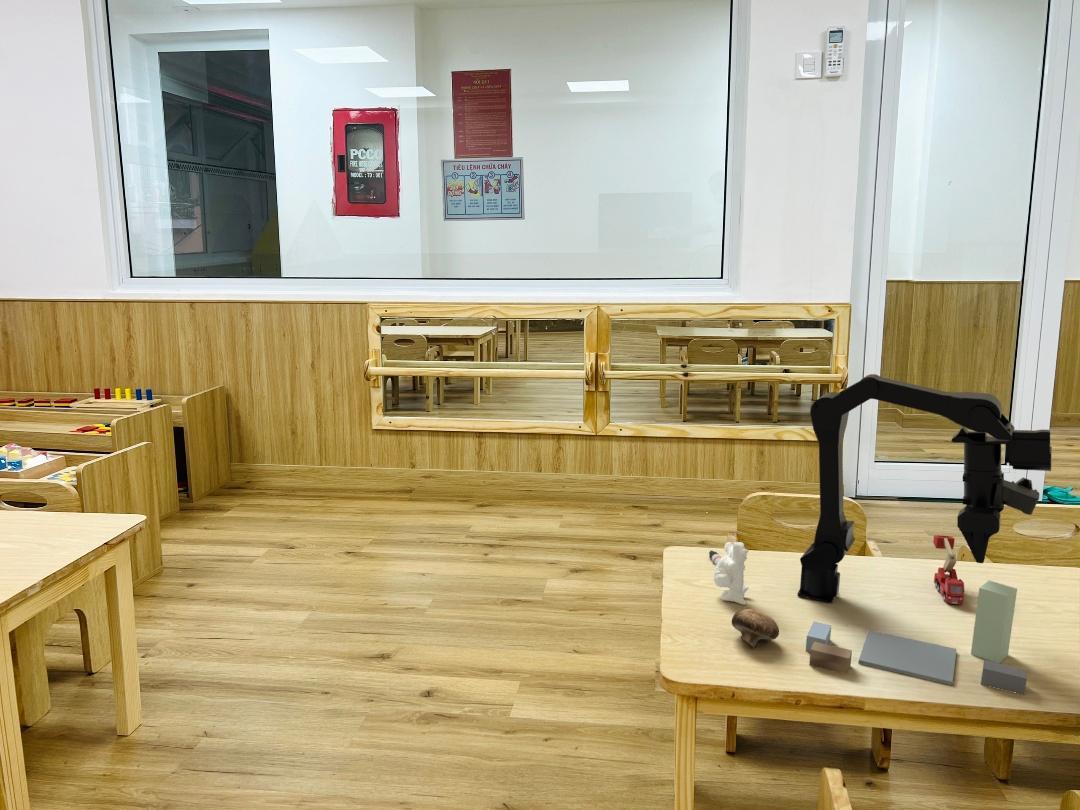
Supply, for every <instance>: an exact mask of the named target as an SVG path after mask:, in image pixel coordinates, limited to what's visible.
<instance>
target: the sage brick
mask: <svg viewBox="0 0 1080 810" xmlns="http://www.w3.org/2000/svg"><path fill="white" fill-rule="evenodd" d="M1017 592H1018V588H1017V587H1013V586H1011V585H1007V584H1004V583H999V582H996V581H993V580H988V581H987V580H986V582H985V583H984V584H982V585H981V586H979V590H978V595H977V602H976V603H977V604H976V609H975V610H976V611H975V618H974V619H975V620H974V624H973V625H974V627H973V635H972V641H971V648H970V649H971V651H970V654H971V655H973V656H975V657H978V658H980V659H984V660H986V661H991V662H995V663H999V664H1001V662H1002V661H1003V660H1004V659H1006V657H1007V656H1008V655H1009V650H1010V643H1011V636H1012V628H1013V621H1014V614H1015V606H1016V600H1017Z"/></svg>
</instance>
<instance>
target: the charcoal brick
mask: <svg viewBox="0 0 1080 810" xmlns="http://www.w3.org/2000/svg"><path fill="white" fill-rule="evenodd" d="M1027 680H1028V669H1025V668H1021V667H1017V666H1011V665H1007V664H1003V663H995V662H992V661H990V660H987V659H984V660H983V664H982V672H981V680H980V685H981V686H986V687H989V686H991V687H990V688H993V687H995V688H994V689H997V688H999V689H998V690H1001V689H1003V690H1002V691H1005V690H1007V692H1009V691H1011V692H1010V693H1013V692H1016V693H1015V694H1018V693H1019V695H1022V694H1023V695H1022V696H1025V693H1026V687H1027Z"/></svg>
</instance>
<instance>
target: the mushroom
mask: <svg viewBox="0 0 1080 810" xmlns="http://www.w3.org/2000/svg"><path fill="white" fill-rule="evenodd" d="M731 625H732V627H733V628H734V629H735V630H736V631H738V632H740V634H741V636H740V638H741V639H742V640H743V641H744V642H746V644H748V645H749V646H751V647H752V648H755V647H756V644H757V643H758V641H760V640H776V639H777V638H778V637H779V635H780V628H779V626H778V625H779V624H777V622H776V621H775V620H774V619H773V618H772V617H771V616H769V615H767V614H765V613H763V612H760V611H758V610H755V609H751V608H748V609H741V610H738V611H736V612H735V613H734V614H733V616H732V619H731Z"/></svg>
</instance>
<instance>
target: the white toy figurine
mask: <svg viewBox="0 0 1080 810" xmlns="http://www.w3.org/2000/svg"><path fill="white" fill-rule="evenodd" d="M724 552H725V555H724V556H722V557H721V559H720V561H719V562H718V564H717V566H716V565H715V567H714V572H713V581H714V584H715V585H716V586H717V587H719V588H727V589H723V590H722V591H721V594H722V596H721V597H720V600H723V601H726V602H732V603H733V602H735V603H738V604H740V605H741V606H742V605H743V606H744V605H746V604H747V601H745V599H744V598H745V593H746V592H747V591H748V590H749V587H748V586H747V585H746V584H745V585H744V582H745V581H744V579H745V578H744V576H745V575H744V573H745V571H746V566H745V562H746V561H747V559H748V558H747V557H748V556H747V554H748V553H749V550H748V549H747V548H745V544H744V542H738V541H734V542H730V541H727V542H726V543H725V544H724Z"/></svg>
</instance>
